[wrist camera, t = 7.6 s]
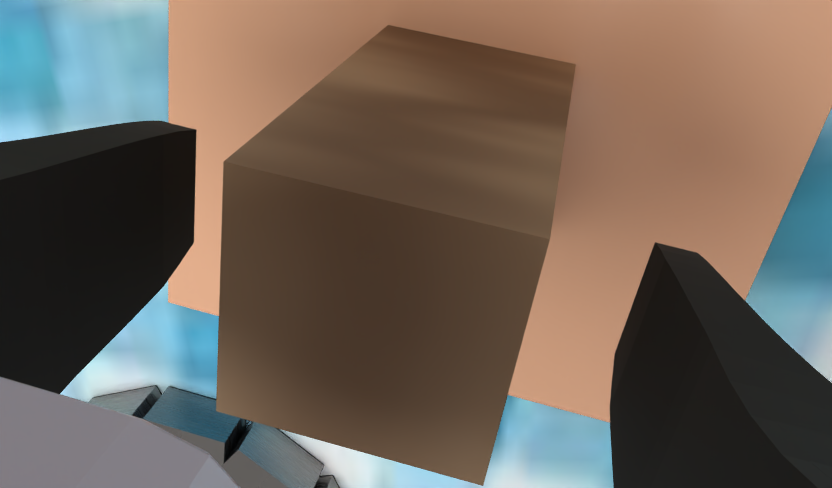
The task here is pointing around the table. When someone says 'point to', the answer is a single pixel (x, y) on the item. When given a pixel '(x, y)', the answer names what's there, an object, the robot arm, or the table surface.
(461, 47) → the link block
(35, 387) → the robot arm
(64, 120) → the table surface
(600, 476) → the table surface
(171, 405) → the holder ring
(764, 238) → the terracotta tile
